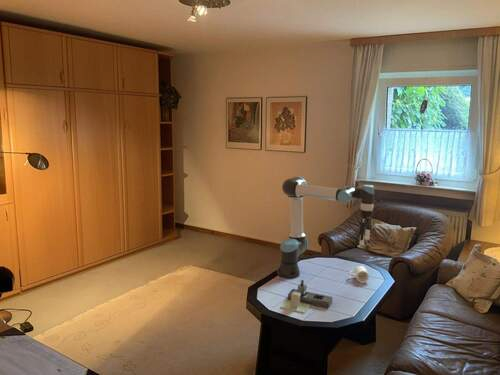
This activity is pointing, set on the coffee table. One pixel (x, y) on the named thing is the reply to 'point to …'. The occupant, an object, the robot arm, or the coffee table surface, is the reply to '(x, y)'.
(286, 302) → the tray
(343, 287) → the coffee table surface
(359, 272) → the mug
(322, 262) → the coffee table surface
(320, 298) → the panel
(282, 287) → the coffee table surface
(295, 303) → the plug
